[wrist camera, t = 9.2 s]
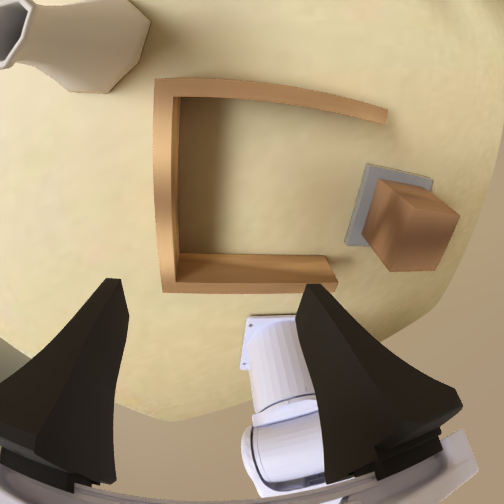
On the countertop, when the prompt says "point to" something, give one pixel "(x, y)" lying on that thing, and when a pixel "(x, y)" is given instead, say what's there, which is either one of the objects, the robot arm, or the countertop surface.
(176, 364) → the countertop surface
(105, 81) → the flask
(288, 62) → the countertop surface
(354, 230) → the slate coaster
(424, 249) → the walnut block
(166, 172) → the oak bracket
